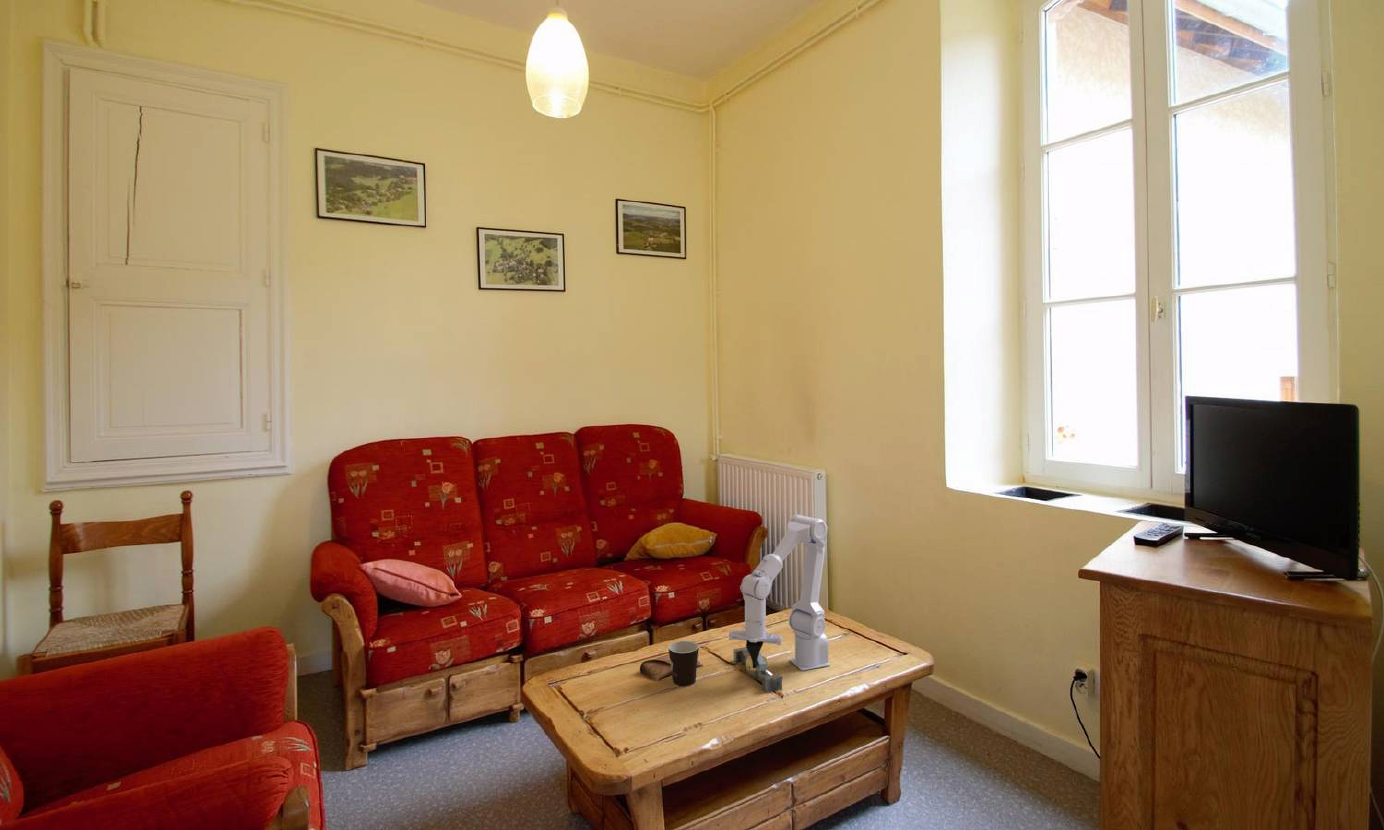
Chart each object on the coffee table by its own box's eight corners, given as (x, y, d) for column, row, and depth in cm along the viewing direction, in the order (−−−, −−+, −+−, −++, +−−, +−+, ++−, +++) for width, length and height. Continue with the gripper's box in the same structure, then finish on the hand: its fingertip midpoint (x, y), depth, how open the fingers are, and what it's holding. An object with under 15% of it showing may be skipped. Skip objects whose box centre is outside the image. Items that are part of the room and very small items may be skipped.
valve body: (732, 661, 203) (731, 646, 202) (750, 658, 205) (750, 643, 204) (763, 693, 182) (763, 677, 182) (783, 689, 184) (783, 673, 184)
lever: (749, 656, 194) (749, 650, 194) (760, 655, 195) (760, 649, 195) (756, 670, 185) (756, 664, 185) (768, 670, 185) (768, 663, 185)
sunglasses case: (655, 682, 189) (648, 659, 191) (644, 687, 194) (637, 664, 196) (705, 665, 200) (698, 642, 202) (693, 670, 205) (686, 648, 207)
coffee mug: (696, 689, 185) (695, 654, 184) (665, 687, 186) (665, 652, 186) (703, 671, 196) (703, 637, 196) (675, 669, 198) (674, 635, 197)
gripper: (726, 621, 184) (726, 669, 185) (779, 626, 180) (779, 676, 181) (732, 612, 191) (732, 659, 191) (783, 617, 187) (782, 665, 187)
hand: (755, 667), depth 186 cm, fingers closed, pressing on lever
